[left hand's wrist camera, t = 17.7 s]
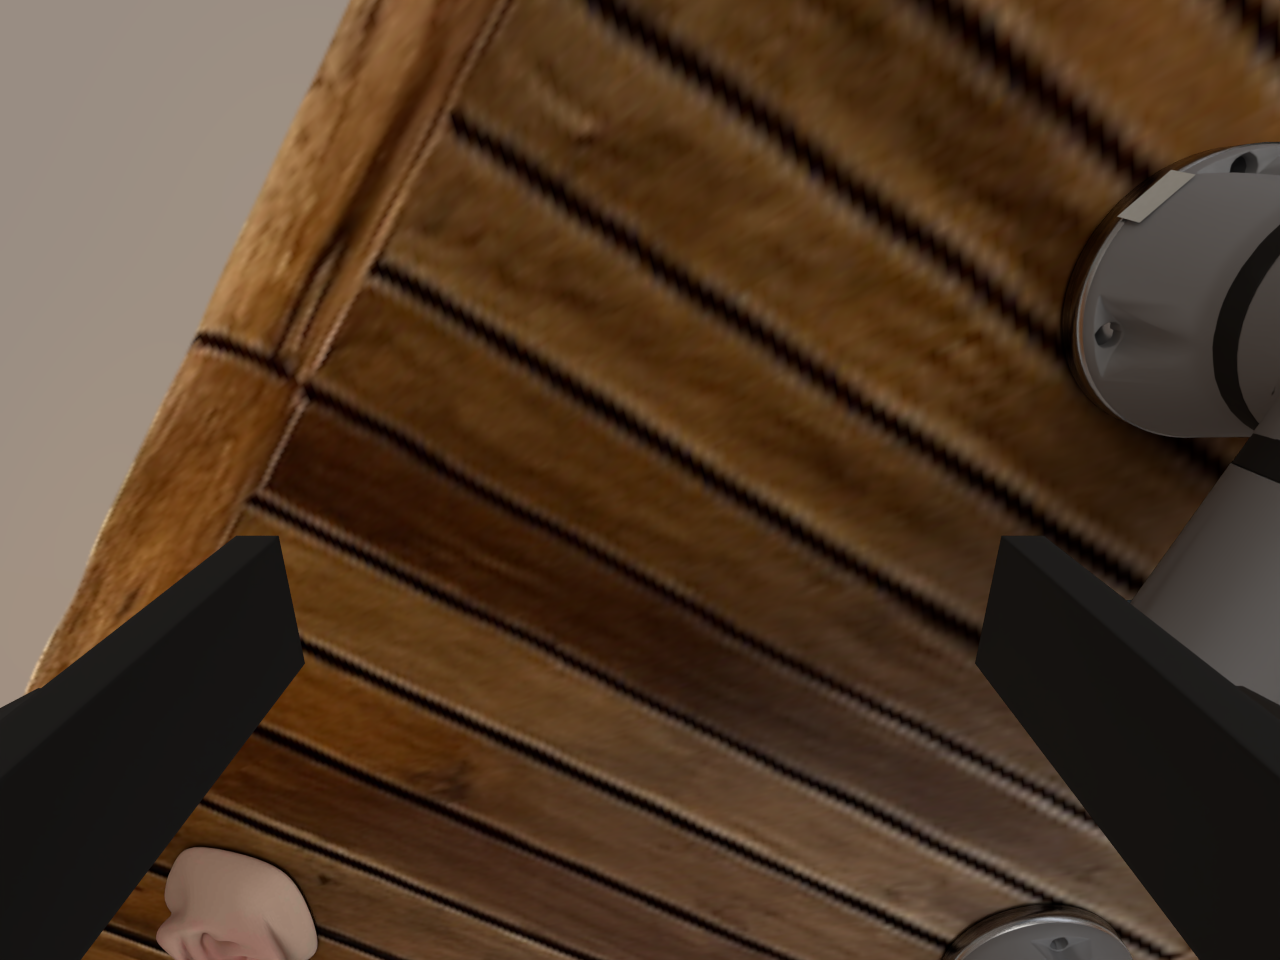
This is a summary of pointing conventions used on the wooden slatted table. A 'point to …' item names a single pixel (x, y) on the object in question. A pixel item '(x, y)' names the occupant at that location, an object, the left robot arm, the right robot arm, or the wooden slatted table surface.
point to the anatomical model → (234, 910)
